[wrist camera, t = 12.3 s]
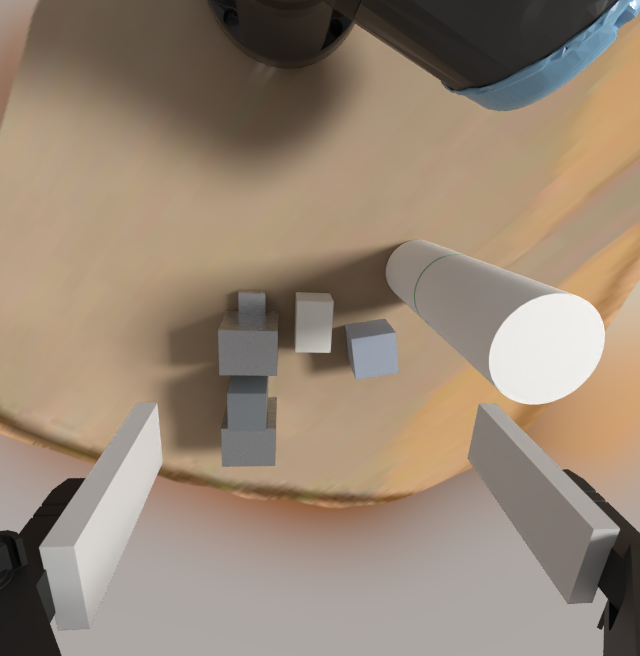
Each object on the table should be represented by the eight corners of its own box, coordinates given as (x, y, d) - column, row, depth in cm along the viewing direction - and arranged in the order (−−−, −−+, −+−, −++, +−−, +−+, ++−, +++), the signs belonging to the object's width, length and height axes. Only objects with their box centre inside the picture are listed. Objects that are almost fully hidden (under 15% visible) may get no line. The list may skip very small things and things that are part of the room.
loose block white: (295, 291, 47) (297, 300, 43) (329, 292, 47) (333, 301, 44) (294, 339, 49) (295, 352, 45) (326, 340, 49) (330, 352, 46)
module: (234, 365, 48) (226, 393, 41) (268, 365, 48) (266, 393, 41) (235, 399, 49) (227, 432, 43) (268, 399, 50) (265, 432, 43)
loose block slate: (344, 324, 49) (351, 339, 44) (384, 318, 49) (395, 332, 44) (349, 361, 51) (355, 379, 46) (387, 355, 51) (398, 372, 46)
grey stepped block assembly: (226, 289, 46) (217, 306, 39) (278, 291, 47) (278, 307, 40) (229, 438, 53) (222, 473, 46) (275, 437, 53) (274, 473, 47)
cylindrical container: (414, 311, 49) (537, 424, 26) (373, 273, 47) (464, 359, 24) (457, 266, 48) (627, 343, 24) (416, 226, 46) (558, 267, 22)
